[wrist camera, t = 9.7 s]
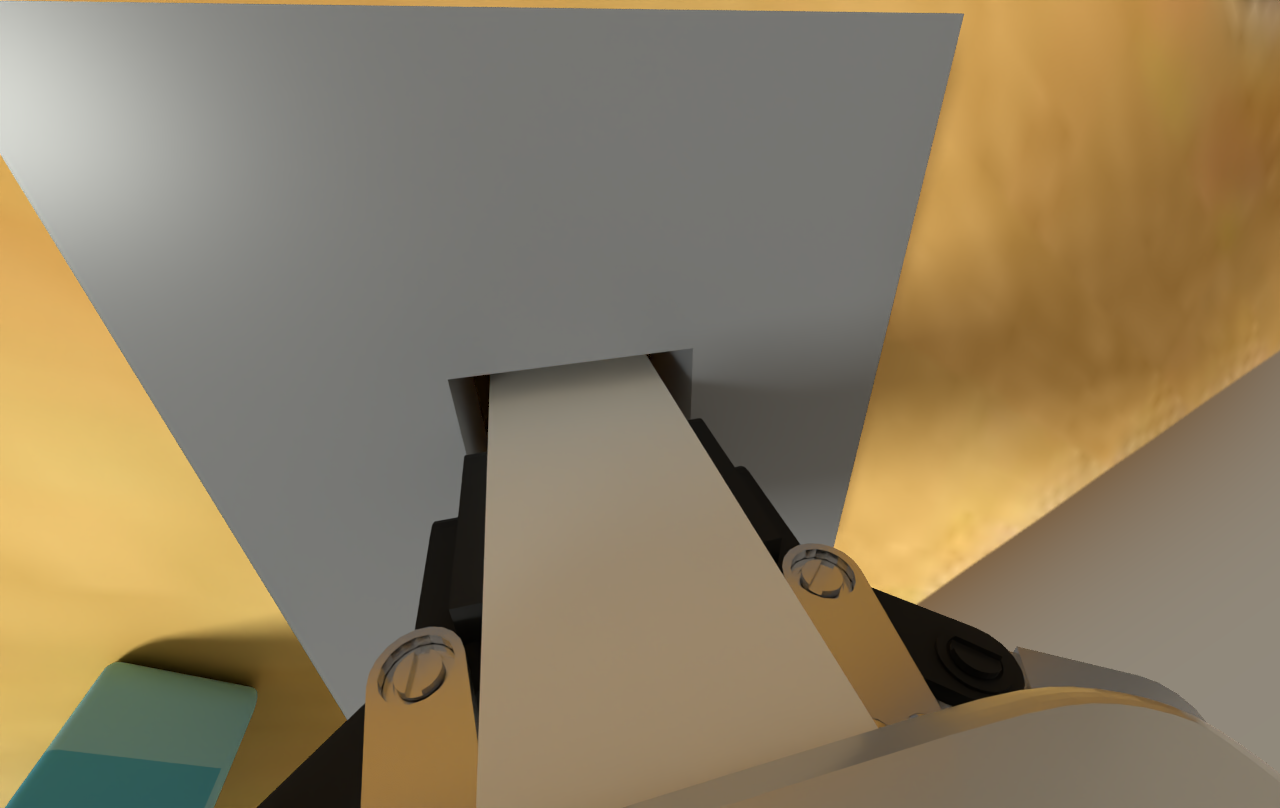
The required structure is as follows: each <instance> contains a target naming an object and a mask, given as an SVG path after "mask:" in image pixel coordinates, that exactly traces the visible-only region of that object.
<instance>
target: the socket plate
mask: <svg viewBox="0 0 1280 808" xmlns="http://www.w3.org/2000/svg"><path fill="white" fill-rule="evenodd" d="M963 16H964V14H954V13H879V12H805V11H731V10H657V9H583V8H509V7H434V6H360V5H286V4H212V3H138V2H64V1H0V154H1V156H2V158H3V159H4V161H5V163H6V164H7V166H8V167H9V169H10V171H11V172H12V174H13V176H14V177H15V179H16V180H17V182H18V184H19V185H20V187H21V189H22V190H23V192H24V194H25V195H26V197H27V198H28V200H29V202H30V203H31V205H32V207H33V208H34V210H35V211H36V213H37V215H38V216H39V218H40V220H41V221H42V223H43V225H44V226H45V228H46V229H47V231H48V233H49V234H50V236H51V238H52V239H53V241H54V242H55V244H56V246H57V247H58V249H59V251H60V252H61V254H62V256H63V257H64V259H65V260H66V262H67V264H68V265H69V267H70V269H71V270H72V272H73V273H74V275H75V277H76V278H77V280H78V282H79V283H80V285H81V287H82V288H83V290H84V291H85V293H86V295H87V296H88V298H89V300H90V301H91V303H92V304H93V306H94V308H95V309H96V311H97V313H98V314H99V316H100V318H101V319H102V321H103V322H104V324H105V326H106V327H107V329H108V331H109V332H110V334H111V335H112V337H113V339H114V340H115V342H116V344H117V345H118V347H119V348H120V350H121V352H122V353H123V355H124V357H125V358H126V360H127V362H128V363H129V365H130V366H131V368H132V370H133V371H134V373H135V375H136V376H137V378H138V379H139V381H140V383H141V384H142V386H143V388H144V389H145V391H146V393H147V394H148V396H149V397H150V399H151V401H152V402H153V404H154V406H155V407H156V409H157V410H158V412H159V414H160V415H161V417H162V419H163V420H164V422H165V424H166V425H167V427H168V428H169V430H170V432H171V433H172V435H173V437H174V438H175V440H176V441H177V443H178V445H179V446H180V448H181V450H182V451H183V453H184V455H185V456H186V458H187V459H188V461H189V463H190V464H191V466H192V468H193V469H194V471H195V472H196V474H197V476H198V477H199V479H200V481H201V482H202V484H203V486H204V487H205V489H206V490H207V492H208V494H209V495H210V497H211V499H212V500H213V502H214V503H215V505H216V507H217V508H218V510H219V512H220V513H221V515H222V517H223V518H224V520H225V521H226V523H227V525H228V526H229V528H230V530H231V531H232V533H233V534H234V536H235V538H236V539H237V541H238V543H239V544H240V546H241V547H242V549H243V551H244V552H245V554H246V556H247V557H248V559H249V561H250V562H251V564H252V565H253V567H254V569H255V570H256V572H257V574H258V575H259V577H260V578H261V580H262V582H263V583H264V585H265V587H266V588H267V590H268V592H269V593H270V595H271V596H272V598H273V600H274V601H275V603H276V605H277V606H278V608H279V609H280V611H281V613H282V614H283V616H284V618H285V619H286V621H287V623H288V624H289V626H290V627H291V629H292V631H293V632H294V634H295V636H296V637H297V639H298V640H299V642H300V644H301V645H302V647H303V649H304V650H305V652H306V654H307V655H308V657H309V658H310V660H311V662H312V663H313V665H314V667H315V668H316V670H317V671H318V673H319V675H320V676H321V678H322V680H323V681H324V683H325V685H326V686H327V688H328V689H329V691H330V693H331V694H332V696H333V698H334V699H335V701H336V702H337V704H338V706H339V707H340V709H341V711H342V712H343V714H344V716H345V717H346V719H347V720H348V719H349V718H350V717H351V716H352V715H353V714H354V713H355V712H356V711H357V710H358V709H359V708H360V707H361V706H363V705H364V704H365V698H366V685H367V680H368V676H369V672H370V670H371V669H372V667H373V665H374V663H375V661H376V659H377V658H378V657H379V656H380V655H381V654H382V653H383V651H384V650H385V649H386V648H387V647H388V646H389V645H391V644H392V643H393V642H395V641H396V640H397V639H399V638H400V637H401V636H404V635H406V634H408V633H410V632H412V631H414V630H415V625H416V619H417V613H418V607H419V600H420V594H421V588H422V582H423V576H424V570H425V564H426V557H427V551H428V545H429V539H430V533H431V528H432V524H433V523H434V521H440V520H445V519H451V518H456V517H458V512H459V502H460V492H461V482H462V472H463V462H464V456H465V455H469V454H475V453H482V452H488V440H487V435H486V431H485V426H484V422H483V417H482V413H481V408H480V404H479V399H478V395H477V390H476V386H475V381H474V377H473V376H479V375H487V374H495V373H503V372H511V371H518V370H526V369H534V368H542V367H550V366H557V365H565V364H573V363H581V362H589V361H597V360H604V359H612V358H620V357H628V356H636V355H643V354H650V362H651V363H652V365H653V367H654V368H655V370H656V372H657V373H658V375H659V376H660V378H661V380H662V381H663V383H664V384H665V386H666V388H667V389H668V391H669V392H670V394H671V396H672V397H673V399H674V400H675V402H676V404H677V405H678V407H679V409H680V410H681V412H682V413H683V415H684V417H685V418H686V420H691V419H697V418H701V419H702V420H703V421H704V422H705V424H706V425H707V427H708V428H709V430H710V431H711V433H712V434H713V436H714V437H715V439H716V440H717V442H718V443H719V445H720V446H721V448H722V449H723V451H724V452H725V453H726V455H727V456H728V458H729V459H730V461H731V462H732V464H733V465H734V467H738V466H743V467H745V468H746V469H747V470H748V471H749V472H750V474H751V475H752V476H753V478H754V479H755V481H756V482H757V483H758V485H759V486H760V488H761V489H762V491H763V492H764V493H765V495H766V496H767V498H768V499H769V500H770V502H771V503H772V505H773V506H774V508H775V509H776V510H777V512H778V513H779V515H780V516H781V517H782V519H783V520H784V522H785V523H786V525H787V526H788V527H789V529H790V530H791V532H792V533H793V534H794V536H795V537H796V539H797V540H798V542H799V543H800V544H801V545H802V544H807V543H814V544H823V545H827V546H830V547H834V543H835V539H836V535H837V531H838V526H839V522H840V518H841V514H842V510H843V506H844V502H845V498H846V494H847V490H848V486H849V482H850V477H851V473H852V469H853V465H854V461H855V457H856V453H857V449H858V445H859V441H860V437H861V433H862V428H863V424H864V420H865V416H866V412H867V408H868V404H869V400H870V396H871V392H872V388H873V384H874V379H875V375H876V371H877V367H878V363H879V359H880V355H881V351H882V347H883V343H884V339H885V335H886V330H887V326H888V322H889V318H890V314H891V310H892V306H893V302H894V298H895V294H896V290H897V286H898V281H899V277H900V273H901V269H902V265H903V261H904V257H905V253H906V249H907V245H908V241H909V237H910V232H911V228H912V224H913V220H914V216H915V212H916V208H917V204H918V200H919V196H920V192H921V187H922V183H923V179H924V175H925V171H926V167H927V163H928V159H929V155H930V151H931V147H932V143H933V138H934V134H935V130H936V126H937V122H938V118H939V114H940V110H941V106H942V102H943V98H944V94H945V89H946V85H947V81H948V77H949V73H950V69H951V65H952V61H953V57H954V53H955V49H956V45H957V40H958V36H959V32H960V28H961V24H962V20H963Z"/></svg>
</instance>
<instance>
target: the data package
mask: <svg viewBox="0 0 1280 808" xmlns="http://www.w3.org/2000/svg"><path fill="white" fill-rule="evenodd" d="M256 702H257V691H256V689H255V688H253V687H249V686H244V685H238V684H233V683H228V682H223V681H218V680H212V679H207V678H202V677H197V676H192V675H186V674H181V673H176V672H171V671H166V670H160V669H155V668H150V667H145V666H140V665H134V664H129V663H124V662H115V663H112V664H110V665H109V666H107V667H106V668H105V669H104V671H103V672H102V673H101V675H100V676H99V677H98V679H97V680H96V681H95V683H94V684H93V686H92V687H91V688H90V690H89V691H88V693H87V694H86V695H85V697H84V698H83V700H82V701H81V702H80V704H79V705H78V706H77V708H76V709H75V711H74V712H73V713H72V715H71V716H70V718H69V719H68V720H67V722H66V723H65V725H64V726H63V727H62V729H61V730H60V732H59V733H58V734H57V736H56V737H55V739H54V740H53V741H52V743H51V744H50V746H49V747H48V748H47V750H46V751H45V753H44V754H43V755H42V757H41V758H40V760H39V761H38V762H37V764H36V765H35V767H34V768H33V769H32V771H31V772H30V773H29V775H28V776H27V778H26V779H25V780H24V782H23V783H22V785H21V786H20V787H19V789H18V790H17V792H16V793H15V794H14V796H13V797H12V799H11V800H10V801H9V803H8V804H7V806H6V807H5V808H214V806H215V804H216V801H217V799H218V797H219V794H220V792H221V789H222V787H223V785H224V782H225V780H226V777H227V775H228V772H229V770H230V768H231V765H232V763H233V760H234V758H235V755H236V753H237V751H238V748H239V746H240V743H241V741H242V739H243V736H244V734H245V731H246V729H247V726H248V724H249V722H250V719H251V717H252V714H253V712H254V709H255V706H256Z"/></svg>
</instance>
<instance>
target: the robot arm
mask: <svg viewBox="0 0 1280 808" xmlns="http://www.w3.org/2000/svg"><path fill="white" fill-rule="evenodd" d="M687 421H688V423H689V425H690V426H691V428H692V429H693V431H694V433H695V434H696V436H697V437H698V439H699V441H700V442H701V444H702V446H703V447H704V449H705V450H706V452H707V454H708V455H709V457H710V458H711V460H712V462H713V463H714V465H715V466H716V468H717V470H718V471H719V473H720V474H721V476H722V478H723V479H724V481H725V483H726V484H727V486H728V487H729V489H730V491H731V492H732V494H733V495H734V497H735V499H736V500H737V502H738V503H739V505H740V507H741V508H742V510H743V511H744V513H745V515H746V516H747V518H748V520H749V521H750V523H751V524H752V526H753V528H754V529H755V531H756V532H757V534H758V536H759V537H760V539H761V540H762V542H763V544H764V545H765V547H766V548H767V550H768V552H769V553H770V555H771V556H772V558H773V560H774V561H775V563H776V565H777V566H778V568H779V569H780V571H781V573H782V574H783V576H784V577H785V579H786V581H787V582H788V584H789V585H790V587H791V589H792V590H793V592H794V593H795V595H796V597H797V598H798V600H799V602H800V603H801V605H802V606H803V608H804V610H805V611H806V613H807V614H808V616H809V618H810V619H811V621H812V622H813V624H814V626H815V627H816V629H817V630H818V632H819V634H820V635H821V637H822V639H823V640H824V642H825V643H826V645H827V647H828V648H829V650H830V651H831V653H832V655H833V656H834V658H835V659H836V661H837V663H838V664H839V666H840V667H841V669H842V671H843V672H844V674H845V676H846V677H847V679H848V680H849V682H850V684H851V685H852V687H853V688H854V690H855V692H856V693H857V695H858V696H859V698H860V700H861V701H862V703H863V704H864V706H865V708H866V709H867V711H868V713H869V714H870V716H871V717H872V719H873V721H874V722H875V724H876V725H877V727H878V729H875V730H872V731H868V732H865V733H862V734H859V735H855V736H852V737H849V738H845V739H842V740H839V741H836V742H832V743H829V744H826V745H823V746H819V747H816V748H813V749H809V750H806V751H803V752H800V753H796V754H793V755H790V756H787V757H783V758H780V759H777V760H774V761H770V762H767V763H764V764H761V765H758V766H754V767H751V768H748V769H745V770H741V771H738V772H735V773H732V774H729V775H725V776H722V777H719V778H716V779H712V780H709V781H706V782H703V783H700V784H696V785H693V786H690V787H687V788H684V789H680V790H677V791H674V792H671V793H668V794H664V795H661V796H658V797H655V798H652V799H648V800H645V801H642V802H639V803H636V804H632V805H629V806H626V807H623V808H1280V774H1279V773H1278V772H1277V771H1275V770H1274V769H1273V768H1271V767H1270V766H1269V765H1268V764H1266V763H1265V762H1264V761H1263V760H1261V759H1260V758H1258V757H1257V756H1256V755H1254V754H1253V753H1251V752H1250V751H1249V750H1247V749H1246V748H1245V747H1243V746H1242V745H1240V744H1239V743H1237V742H1236V741H1234V740H1233V739H1231V738H1230V737H1228V736H1227V735H1225V734H1224V733H1222V732H1221V731H1219V730H1218V729H1216V728H1214V727H1213V726H1211V725H1209V724H1207V723H1206V721H1205V720H1204V719H1203V718H1202V717H1201V715H1200V714H1199V713H1198V712H1197V710H1196V709H1195V708H1194V707H1193V706H1191V705H1190V704H1189V703H1188V702H1187V701H1185V700H1184V699H1183V698H1182V697H1180V696H1179V695H1178V694H1177V693H1175V692H1173V691H1171V690H1170V689H1168V688H1166V687H1165V686H1163V685H1161V684H1160V683H1158V682H1155V681H1152V680H1149V679H1147V678H1144V677H1141V676H1138V675H1134V674H1130V673H1125V672H1121V671H1117V670H1113V669H1109V668H1104V667H1100V666H1096V665H1092V664H1088V663H1084V662H1080V661H1075V660H1071V659H1067V658H1063V657H1059V656H1054V655H1050V654H1046V653H1042V652H1038V651H1034V650H1029V649H1025V648H1021V647H1017V648H1016V649H1015V650H1014V652H1010V651H1008V650H1007V649H1006V648H1005V647H1004V646H1003V645H1002V644H1001V643H1000V642H998V641H997V640H996V639H994V638H993V637H991V636H990V635H989V634H987V633H985V632H983V631H981V630H979V629H977V628H974V627H972V626H970V625H967V624H964V623H962V622H959V621H957V620H954V619H952V618H949V617H946V616H944V615H941V614H939V613H936V612H933V611H931V610H928V609H926V608H923V607H920V606H918V605H915V604H913V603H910V602H908V601H905V600H902V599H900V598H897V597H895V596H892V595H890V594H887V593H884V592H882V591H879V590H877V589H874V588H871V586H870V585H869V583H868V581H867V579H866V578H865V576H864V574H863V573H862V571H861V569H860V568H859V567H858V565H857V564H856V563H855V562H854V560H852V559H851V558H850V557H849V556H847V555H846V554H845V553H843V552H841V551H839V550H837V549H835V548H833V547H830V546H827V545H823V544H814V543H807V544H802V545H801V544H800V543H799V542H798V540H797V539H796V537H795V536H794V534H793V533H792V532H791V530H790V529H789V527H788V526H787V525H786V523H785V522H784V520H783V519H782V517H781V516H780V515H779V513H778V512H777V510H776V509H775V508H774V506H773V505H772V503H771V502H770V500H769V499H768V498H767V496H766V495H765V493H764V492H763V491H762V489H761V488H760V486H759V485H758V483H757V482H756V481H755V479H754V478H753V476H752V475H751V474H750V472H749V471H748V470H747V469H746V468H745V467H743V466H738V467H734V465H733V464H732V462H731V461H730V459H729V458H728V456H727V455H726V453H725V452H724V451H723V449H722V448H721V446H720V445H719V443H718V442H717V440H716V439H715V437H714V436H713V434H712V433H711V431H710V430H709V428H708V427H707V425H706V424H705V422H704V421H703V420H702V419H701V418H697V419H691V420H687ZM487 455H488V452H482V453H475V454H469V455H465V456H464V462H463V472H462V482H461V492H460V502H459V512H458V517H456V518H451V519H445V520H440V521H434V523H433V524H432V528H431V533H430V539H429V545H428V551H427V557H426V564H425V570H424V576H423V582H422V588H421V594H420V600H419V607H418V613H417V619H416V625H415V630H414V631H412V632H410V633H408V634H406V635H404V636H401V637H400V638H399V639H397V640H396V641H395V642H393V643H392V644H391V645H389V646H388V647H387V648H386V649H385V650H384V651H383V653H382V654H381V655H380V656H379V657H378V658H377V659H376V661H375V663H374V665H373V667H372V669H371V670H370V672H369V676H368V680H367V685H366V698H365V704H364V705H363V706H361V707H360V708H359V709H358V710H357V711H356V712H355V713H354V714H353V715H352V716H351V717H350V718H349V719H348V720H347V721H346V722H345V723H344V724H343V725H342V726H341V727H340V728H339V729H338V730H337V731H336V732H335V733H334V734H332V735H331V736H330V737H329V738H328V739H327V740H326V741H325V742H324V743H323V744H322V745H321V746H320V747H319V748H318V749H317V750H316V751H315V752H314V753H313V754H312V755H311V756H310V757H309V758H308V759H307V760H306V761H305V762H303V763H302V764H301V765H300V766H299V767H298V768H297V769H296V770H295V771H294V772H293V773H292V774H291V775H290V776H289V777H288V778H287V779H286V780H285V781H284V782H283V783H282V784H281V785H280V786H279V787H278V788H277V789H276V790H275V791H273V792H272V793H271V794H270V795H269V796H268V797H267V798H266V799H265V800H264V801H263V802H262V803H261V804H260V805H259V806H258V807H257V808H476V797H477V766H478V735H479V704H480V673H481V642H482V610H483V579H484V548H485V517H486V486H487Z"/></svg>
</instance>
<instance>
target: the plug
mask: <svg viewBox="0 0 1280 808" xmlns="http://www.w3.org/2000/svg"><path fill="white" fill-rule="evenodd" d="M875 729H878V727H877V725H876V724H875V722H874V721H873V719H872V717H871V716H870V714H869V713H868V711H867V709H866V708H865V706H864V704H863V703H862V701H861V700H860V698H859V696H858V695H857V693H856V692H855V690H854V688H853V687H852V685H851V684H850V682H849V680H848V679H847V677H846V676H845V674H844V672H843V671H842V669H841V667H840V666H839V664H838V663H837V661H836V659H835V658H834V656H833V655H832V653H831V651H830V650H829V648H828V647H827V645H826V643H825V642H824V640H823V639H822V637H821V635H820V634H819V632H818V630H817V629H816V627H815V626H814V624H813V622H812V621H811V619H810V618H809V616H808V614H807V613H806V611H805V610H804V608H803V606H802V605H801V603H800V602H799V600H798V598H797V597H796V595H795V593H794V592H793V590H792V589H791V587H790V585H789V584H788V582H787V581H786V579H785V577H784V576H783V574H782V573H781V571H780V569H779V568H778V566H777V565H776V563H775V561H774V560H773V558H772V556H771V555H770V553H769V552H768V550H767V548H766V547H765V545H764V544H763V542H762V540H761V539H760V537H759V536H758V534H757V532H756V531H755V529H754V528H753V526H752V524H751V523H750V521H749V520H748V518H747V516H746V515H745V513H744V511H743V510H742V508H741V507H740V505H739V503H738V502H737V500H736V499H735V497H734V495H733V494H732V492H731V491H730V489H729V487H728V486H727V484H726V483H725V481H724V479H723V478H722V476H721V474H720V473H719V471H718V470H717V468H716V466H715V465H714V463H713V462H712V460H711V458H710V457H709V455H708V454H707V452H706V450H705V449H704V447H703V446H702V444H701V442H700V441H699V439H698V437H697V436H696V434H695V433H694V431H693V429H692V428H691V426H690V425H689V423H688V421H687V420H686V418H685V417H684V415H683V413H682V412H681V410H680V409H679V407H678V405H677V404H676V402H675V400H674V399H673V397H672V396H671V394H670V392H669V391H668V389H667V388H666V386H665V384H664V383H663V381H662V380H661V378H660V376H659V375H658V373H657V372H656V370H655V368H654V367H653V365H652V363H651V362H650V360H649V359H648V357H647V355H646V354H643V355H636V356H628V357H620V358H612V359H604V360H597V361H589V362H581V363H573V364H565V365H557V366H550V367H542V368H534V369H526V370H518V371H511V372H503V373H495V374H490V393H489V424H488V455H487V486H486V517H485V548H484V579H483V610H482V642H481V673H480V704H479V735H478V766H477V797H476V808H623V807H626V806H629V805H632V804H636V803H639V802H642V801H645V800H648V799H652V798H655V797H658V796H661V795H664V794H668V793H671V792H674V791H677V790H680V789H684V788H687V787H690V786H693V785H696V784H700V783H703V782H706V781H709V780H712V779H716V778H719V777H722V776H725V775H729V774H732V773H735V772H738V771H741V770H745V769H748V768H751V767H754V766H758V765H761V764H764V763H767V762H770V761H774V760H777V759H780V758H783V757H787V756H790V755H793V754H796V753H800V752H803V751H806V750H809V749H813V748H816V747H819V746H823V745H826V744H829V743H832V742H836V741H839V740H842V739H845V738H849V737H852V736H855V735H859V734H862V733H865V732H868V731H872V730H875Z"/></svg>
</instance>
